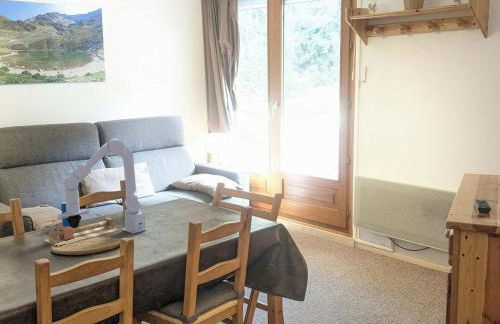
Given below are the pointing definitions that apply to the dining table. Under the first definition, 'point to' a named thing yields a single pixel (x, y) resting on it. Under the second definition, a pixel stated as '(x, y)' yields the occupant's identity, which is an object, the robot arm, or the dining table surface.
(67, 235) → the salmon red block
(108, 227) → the rod rig
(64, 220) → the beverage can
